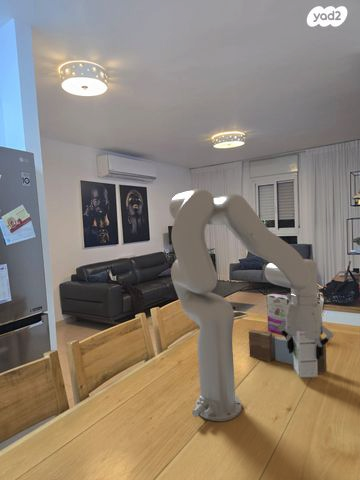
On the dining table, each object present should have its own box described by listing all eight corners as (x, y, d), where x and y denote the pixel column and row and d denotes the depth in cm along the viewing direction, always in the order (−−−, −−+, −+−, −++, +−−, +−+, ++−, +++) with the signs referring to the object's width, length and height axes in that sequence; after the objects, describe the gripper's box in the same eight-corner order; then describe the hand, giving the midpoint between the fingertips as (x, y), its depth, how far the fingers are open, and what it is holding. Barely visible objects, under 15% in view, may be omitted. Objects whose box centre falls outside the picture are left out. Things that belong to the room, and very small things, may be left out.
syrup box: (318, 377, 96) (317, 330, 95) (298, 377, 96) (298, 331, 95) (311, 368, 102) (310, 324, 101) (292, 368, 102) (291, 324, 101)
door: (310, 370, 103) (309, 344, 102) (271, 360, 111) (270, 337, 110) (312, 367, 105) (311, 342, 104) (273, 358, 113) (272, 335, 112)
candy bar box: (296, 334, 135) (295, 296, 133) (289, 337, 132) (288, 299, 130) (274, 327, 144) (272, 292, 142) (267, 330, 141) (265, 294, 139)
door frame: (324, 374, 100) (323, 345, 100) (249, 356, 116) (247, 331, 116) (326, 370, 103) (325, 342, 102) (252, 353, 119) (251, 329, 118)
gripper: (272, 298, 100) (273, 352, 101) (331, 306, 89) (332, 366, 90) (280, 293, 106) (281, 344, 107) (337, 300, 95) (337, 356, 96)
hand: (304, 354), depth 99 cm, fingers closed on syrup box, 7 cm apart
